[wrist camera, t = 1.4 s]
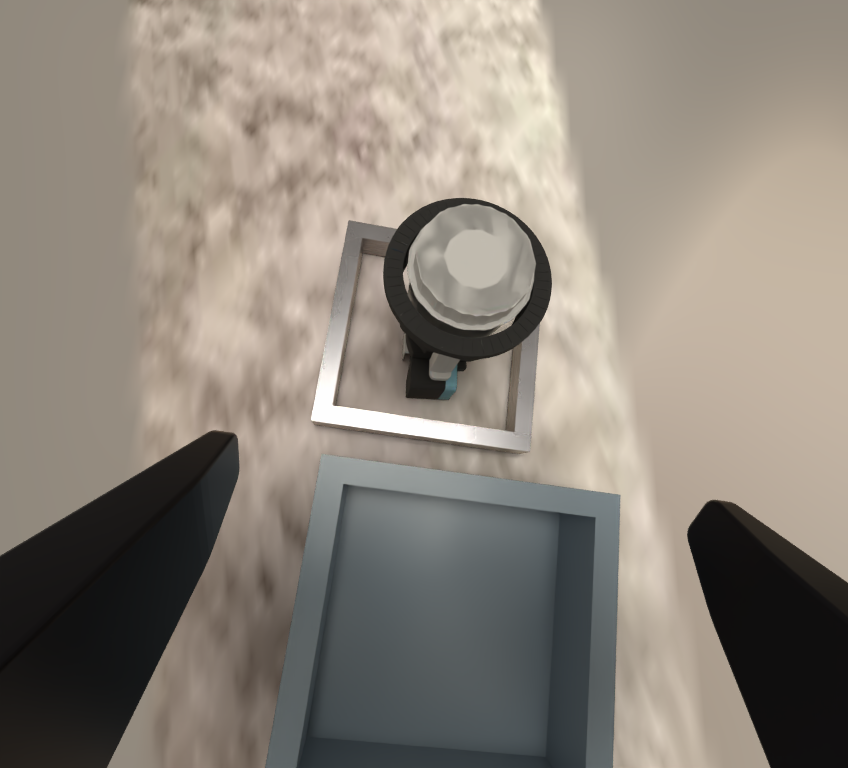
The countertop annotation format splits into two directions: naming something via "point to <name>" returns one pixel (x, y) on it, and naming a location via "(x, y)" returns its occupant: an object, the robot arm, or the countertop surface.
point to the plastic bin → (450, 624)
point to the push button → (463, 288)
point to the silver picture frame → (330, 415)
